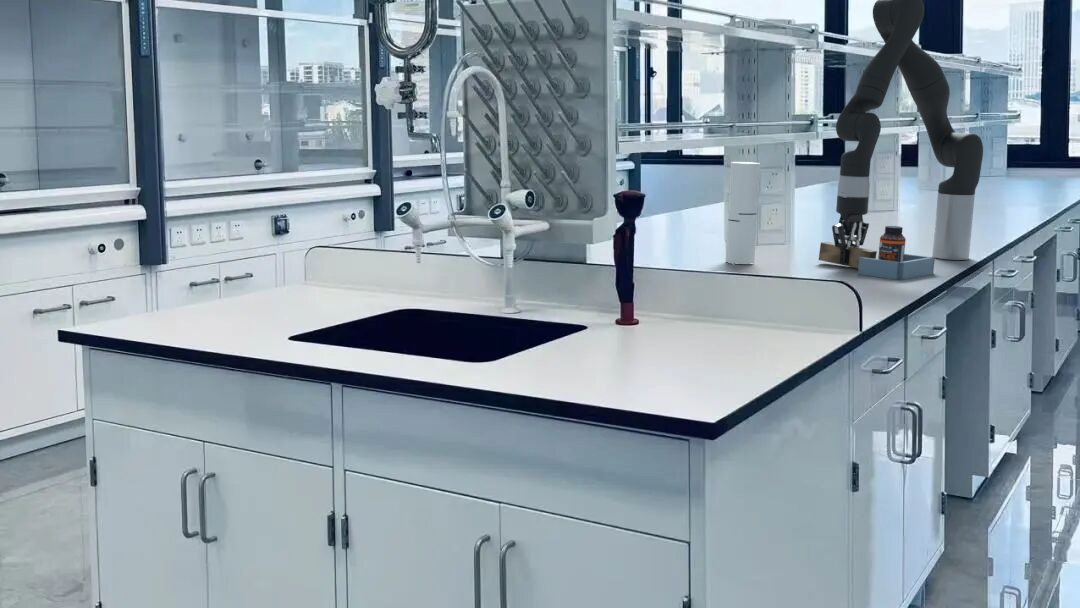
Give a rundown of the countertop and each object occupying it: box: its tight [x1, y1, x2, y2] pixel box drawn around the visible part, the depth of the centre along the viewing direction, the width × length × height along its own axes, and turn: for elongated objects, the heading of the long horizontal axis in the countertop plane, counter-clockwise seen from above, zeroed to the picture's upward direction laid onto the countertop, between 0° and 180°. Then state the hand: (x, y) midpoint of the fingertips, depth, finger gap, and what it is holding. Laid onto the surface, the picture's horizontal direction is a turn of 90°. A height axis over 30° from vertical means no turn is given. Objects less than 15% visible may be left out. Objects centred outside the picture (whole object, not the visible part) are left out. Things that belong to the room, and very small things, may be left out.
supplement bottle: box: [877, 225, 907, 262], centre depth 270 cm, size 6×6×11 cm
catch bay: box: [857, 253, 936, 281], centre depth 269 cm, size 11×16×4 cm
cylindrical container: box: [725, 161, 761, 264], centre depth 279 cm, size 7×7×25 cm
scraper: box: [818, 241, 878, 269], centre depth 278 cm, size 16×10×4 cm, turn 44°
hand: (847, 263), depth 279 cm, fingers closed on scraper, 3 cm apart
